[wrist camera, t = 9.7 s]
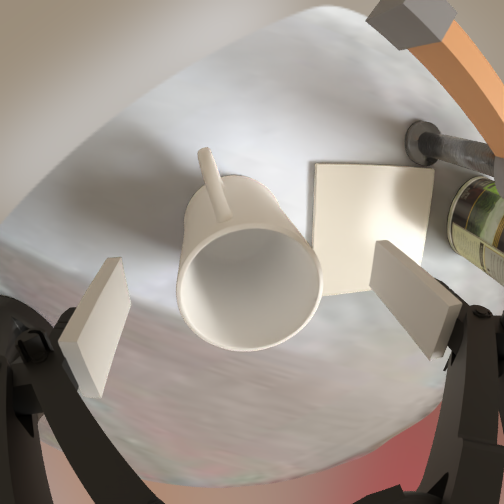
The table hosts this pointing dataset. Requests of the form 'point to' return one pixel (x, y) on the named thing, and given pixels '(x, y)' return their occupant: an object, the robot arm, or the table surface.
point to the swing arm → (449, 64)
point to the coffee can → (479, 226)
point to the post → (447, 149)
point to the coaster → (366, 218)
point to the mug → (243, 265)
